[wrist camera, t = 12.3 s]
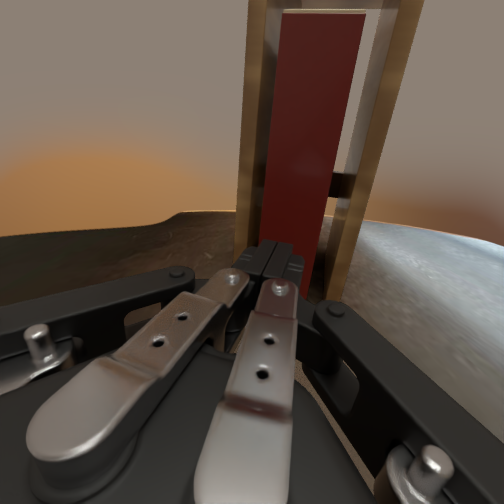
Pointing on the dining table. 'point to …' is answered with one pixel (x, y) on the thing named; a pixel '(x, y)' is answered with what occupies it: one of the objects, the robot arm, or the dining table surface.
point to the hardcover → (307, 124)
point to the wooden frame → (364, 134)
